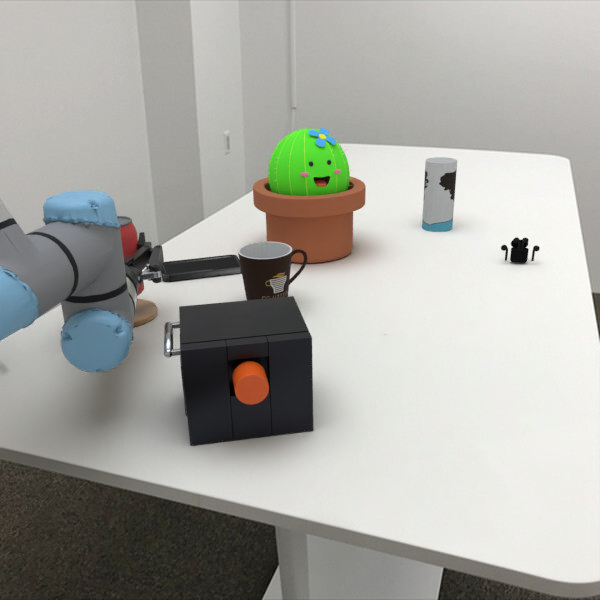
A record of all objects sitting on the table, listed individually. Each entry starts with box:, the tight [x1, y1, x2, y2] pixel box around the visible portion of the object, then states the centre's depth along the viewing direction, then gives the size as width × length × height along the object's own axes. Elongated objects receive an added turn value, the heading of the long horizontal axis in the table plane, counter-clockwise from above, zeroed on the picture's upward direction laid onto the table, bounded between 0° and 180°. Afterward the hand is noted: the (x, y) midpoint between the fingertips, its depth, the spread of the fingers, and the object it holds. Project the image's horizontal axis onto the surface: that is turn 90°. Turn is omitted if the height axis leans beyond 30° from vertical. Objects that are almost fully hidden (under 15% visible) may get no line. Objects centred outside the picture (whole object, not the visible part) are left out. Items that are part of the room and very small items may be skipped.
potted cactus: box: [252, 125, 366, 264], centre depth 128 cm, size 22×22×25 cm
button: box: [233, 361, 269, 404], centre depth 69 cm, size 3×4×4 cm
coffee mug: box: [237, 241, 308, 300], centre depth 105 cm, size 12×9×10 cm
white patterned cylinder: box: [421, 156, 458, 233], centre depth 143 cm, size 7×7×15 cm
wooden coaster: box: [133, 298, 159, 328], centre depth 105 cm, size 10×10×1 cm
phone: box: [161, 254, 242, 282], centre depth 123 cm, size 8×1×15 cm
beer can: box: [117, 215, 145, 297], centre depth 101 cm, size 7×7×12 cm
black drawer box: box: [163, 295, 314, 447], centre depth 76 cm, size 12×16×12 cm
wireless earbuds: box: [500, 236, 541, 264], centre depth 123 cm, size 7×2×5 cm, turn 82°
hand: (120, 242), depth 105 cm, fingers closed on beer can, 7 cm apart
